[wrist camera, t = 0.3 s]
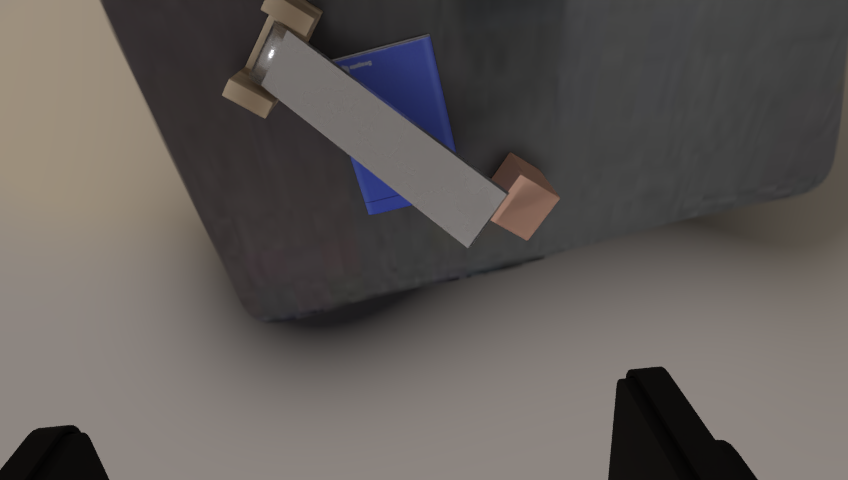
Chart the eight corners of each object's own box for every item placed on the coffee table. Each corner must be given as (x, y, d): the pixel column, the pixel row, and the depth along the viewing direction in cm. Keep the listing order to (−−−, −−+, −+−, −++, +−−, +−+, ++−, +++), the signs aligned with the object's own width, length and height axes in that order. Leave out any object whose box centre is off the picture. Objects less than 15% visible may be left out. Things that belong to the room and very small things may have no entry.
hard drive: (319, 65, 39) (368, 216, 45) (430, 35, 39) (465, 192, 44) (321, 61, 41) (369, 208, 46) (428, 32, 40) (463, 185, 46)
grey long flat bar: (258, 76, 37) (244, 74, 36) (283, 22, 36) (269, 18, 35) (473, 244, 34) (466, 248, 32) (510, 192, 32) (505, 194, 31)
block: (476, 188, 45) (488, 219, 40) (504, 148, 44) (520, 174, 39) (511, 208, 46) (527, 240, 41) (539, 169, 45) (560, 198, 40)
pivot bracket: (241, 78, 40) (221, 95, 35) (284, -14, 38) (269, -9, 33) (279, 99, 41) (265, 118, 36) (323, 11, 38) (314, 18, 34)
